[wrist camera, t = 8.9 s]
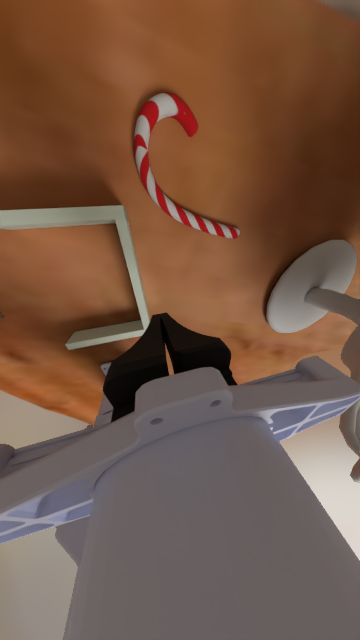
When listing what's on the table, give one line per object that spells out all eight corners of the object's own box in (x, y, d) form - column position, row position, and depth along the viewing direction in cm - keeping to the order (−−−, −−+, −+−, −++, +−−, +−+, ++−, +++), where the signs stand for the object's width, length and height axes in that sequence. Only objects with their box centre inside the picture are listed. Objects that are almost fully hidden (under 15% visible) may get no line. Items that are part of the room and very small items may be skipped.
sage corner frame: (151, 323, 23) (152, 333, 20) (77, 336, 21) (68, 349, 18) (126, 211, 15) (122, 205, 12) (4, 217, 13) (-29, 211, 10)
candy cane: (225, 258, 19) (119, 173, 13) (221, 257, 20) (121, 179, 14) (264, 199, 17) (154, 55, 10) (256, 202, 18) (153, 73, 11)
